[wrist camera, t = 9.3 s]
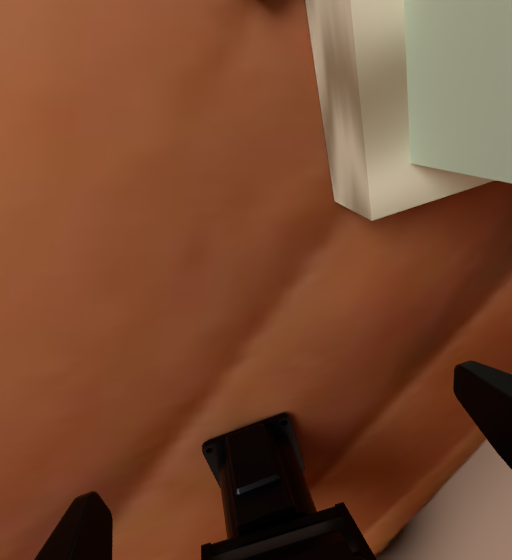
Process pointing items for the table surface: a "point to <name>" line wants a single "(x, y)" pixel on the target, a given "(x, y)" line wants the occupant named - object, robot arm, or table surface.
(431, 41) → the green cube
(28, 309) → the table surface
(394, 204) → the beige square block
